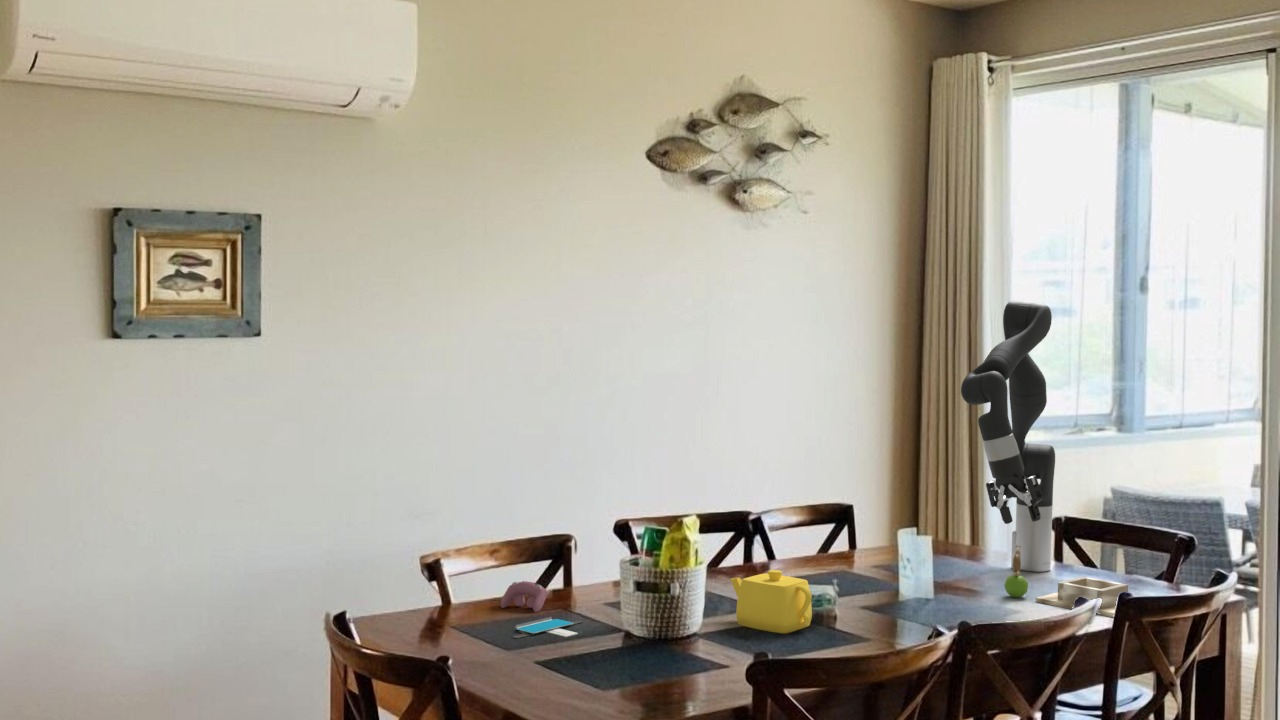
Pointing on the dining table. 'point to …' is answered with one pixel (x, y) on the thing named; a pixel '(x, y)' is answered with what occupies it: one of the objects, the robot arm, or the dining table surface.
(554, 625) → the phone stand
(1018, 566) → the snail figurine
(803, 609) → the teapot
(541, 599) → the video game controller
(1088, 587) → the wooden box tray
